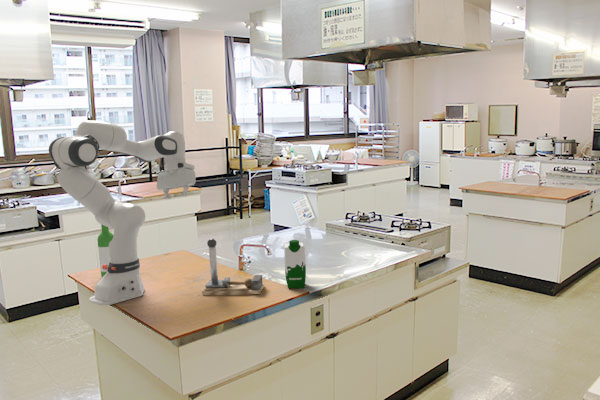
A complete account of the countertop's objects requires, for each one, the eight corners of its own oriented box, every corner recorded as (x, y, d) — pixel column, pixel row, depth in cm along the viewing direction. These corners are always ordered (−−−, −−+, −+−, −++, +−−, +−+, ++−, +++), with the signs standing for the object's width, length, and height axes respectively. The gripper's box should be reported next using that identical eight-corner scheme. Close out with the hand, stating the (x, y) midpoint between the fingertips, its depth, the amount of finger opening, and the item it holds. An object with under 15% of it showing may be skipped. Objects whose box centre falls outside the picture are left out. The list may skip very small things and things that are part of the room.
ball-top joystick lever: (205, 289, 204) (201, 241, 201) (210, 284, 211) (207, 237, 208) (226, 289, 203) (223, 240, 200) (231, 283, 210) (227, 236, 207)
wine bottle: (108, 274, 240) (101, 213, 236) (122, 274, 238) (115, 213, 234) (97, 279, 233) (91, 216, 228) (112, 279, 231) (105, 216, 226)
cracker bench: (202, 294, 203) (201, 282, 203) (209, 287, 213) (208, 274, 212) (259, 294, 201) (259, 281, 200) (264, 286, 210) (263, 274, 210)
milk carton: (285, 289, 205) (283, 242, 202) (285, 283, 214) (283, 238, 211) (307, 288, 205) (304, 241, 202) (306, 282, 214) (303, 237, 211)
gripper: (153, 169, 226) (153, 199, 224) (187, 162, 217) (188, 193, 214) (163, 172, 232) (163, 201, 229) (197, 165, 222) (198, 195, 220)
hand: (175, 197), depth 222 cm, fingers open, 8 cm apart
